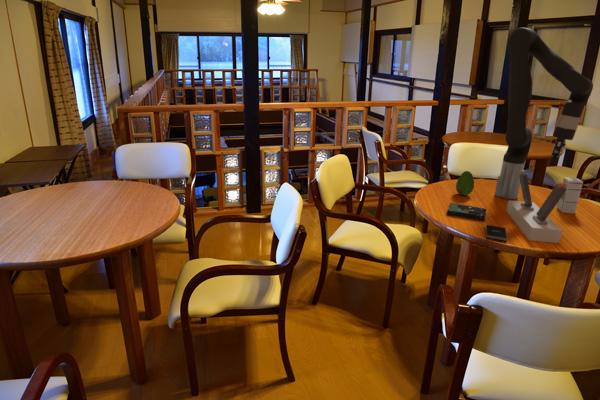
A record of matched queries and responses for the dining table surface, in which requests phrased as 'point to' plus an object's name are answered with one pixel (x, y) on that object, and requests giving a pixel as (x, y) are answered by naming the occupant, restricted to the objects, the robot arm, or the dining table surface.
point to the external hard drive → (496, 233)
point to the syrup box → (570, 195)
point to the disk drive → (467, 211)
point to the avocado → (465, 183)
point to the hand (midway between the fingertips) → (552, 164)
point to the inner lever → (525, 188)
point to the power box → (533, 222)
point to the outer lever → (551, 201)
